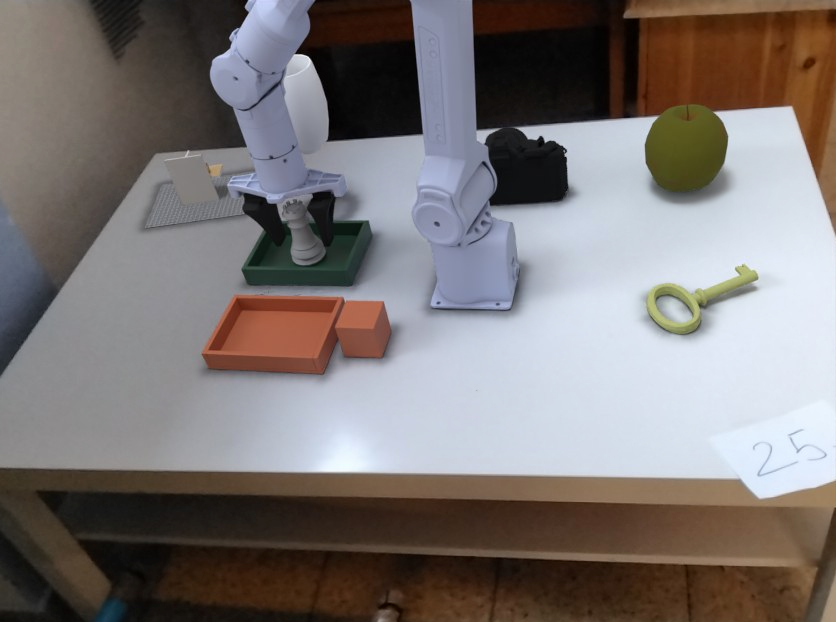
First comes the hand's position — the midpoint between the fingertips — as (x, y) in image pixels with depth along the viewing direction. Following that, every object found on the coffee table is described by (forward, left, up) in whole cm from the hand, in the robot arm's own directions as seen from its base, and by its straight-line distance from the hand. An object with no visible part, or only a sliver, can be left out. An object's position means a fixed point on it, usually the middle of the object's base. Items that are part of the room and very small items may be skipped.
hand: (305, 241), depth 105 cm
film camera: (-24, -16, -3) cm, 29 cm away
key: (-48, +7, -3) cm, 49 cm away
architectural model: (+22, -14, -3) cm, 26 cm away
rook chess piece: (0, 0, -3) cm, 3 cm away
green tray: (0, 0, -3) cm, 3 cm away
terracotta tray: (-1, +15, -3) cm, 15 cm away
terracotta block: (-12, +15, -3) cm, 19 cm away
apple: (-46, -16, -3) cm, 49 cm away
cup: (+1, -11, -3) cm, 11 cm away
